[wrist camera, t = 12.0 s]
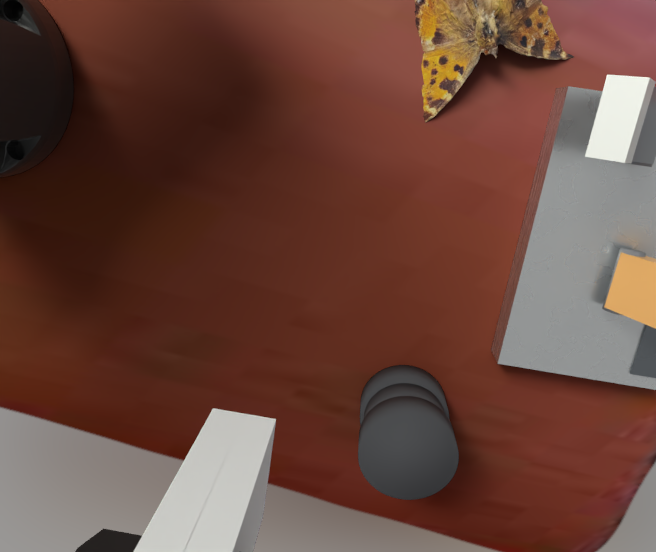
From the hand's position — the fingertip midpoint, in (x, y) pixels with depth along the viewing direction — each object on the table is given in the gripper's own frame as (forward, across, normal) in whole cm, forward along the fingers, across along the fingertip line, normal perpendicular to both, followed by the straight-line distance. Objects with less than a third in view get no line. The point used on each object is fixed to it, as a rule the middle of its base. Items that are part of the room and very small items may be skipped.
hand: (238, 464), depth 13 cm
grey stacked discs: (+31, +8, -14) cm, 35 cm away
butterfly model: (+31, +8, +15) cm, 36 cm away
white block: (+28, +20, +10) cm, 36 cm away
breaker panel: (+30, +20, +2) cm, 36 cm away
